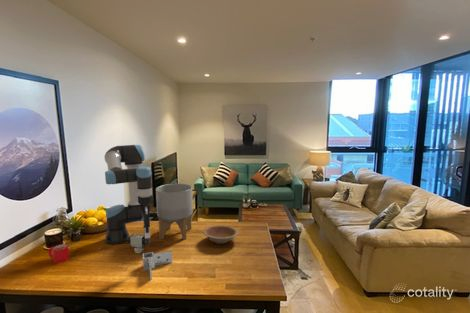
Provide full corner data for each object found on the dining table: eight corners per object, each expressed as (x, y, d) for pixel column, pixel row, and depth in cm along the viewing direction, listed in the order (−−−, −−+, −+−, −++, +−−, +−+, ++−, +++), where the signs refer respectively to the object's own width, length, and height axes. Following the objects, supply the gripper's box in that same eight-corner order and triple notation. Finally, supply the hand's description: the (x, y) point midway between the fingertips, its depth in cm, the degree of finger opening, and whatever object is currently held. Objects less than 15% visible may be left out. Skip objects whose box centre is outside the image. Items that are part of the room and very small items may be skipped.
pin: (143, 241, 146) (141, 212, 143) (151, 240, 147) (149, 211, 145) (144, 244, 142) (142, 214, 140) (151, 243, 144) (150, 213, 141)
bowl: (245, 243, 174) (245, 232, 173) (214, 253, 161) (214, 241, 160) (226, 230, 194) (226, 220, 192) (197, 239, 180) (197, 228, 179)
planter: (181, 223, 207) (180, 181, 201) (200, 234, 188) (199, 188, 183) (152, 233, 190) (149, 187, 185) (168, 245, 172) (166, 195, 167)
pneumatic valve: (145, 254, 160) (144, 236, 158) (128, 253, 162) (127, 234, 160) (150, 250, 165) (149, 232, 163) (133, 248, 168) (132, 231, 166)
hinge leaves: (143, 265, 149) (142, 253, 147) (171, 259, 155) (170, 248, 154) (145, 281, 134) (144, 268, 133) (176, 274, 140) (175, 262, 139)
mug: (53, 255, 160) (52, 243, 159) (72, 256, 159) (71, 243, 158) (43, 262, 152) (42, 249, 151) (63, 263, 151) (61, 250, 150)
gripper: (136, 192, 147) (139, 232, 150) (138, 200, 132) (141, 244, 136) (150, 191, 149) (152, 229, 153) (153, 198, 135) (155, 241, 138)
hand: (147, 236), depth 144 cm, fingers closed on pin, 3 cm apart
